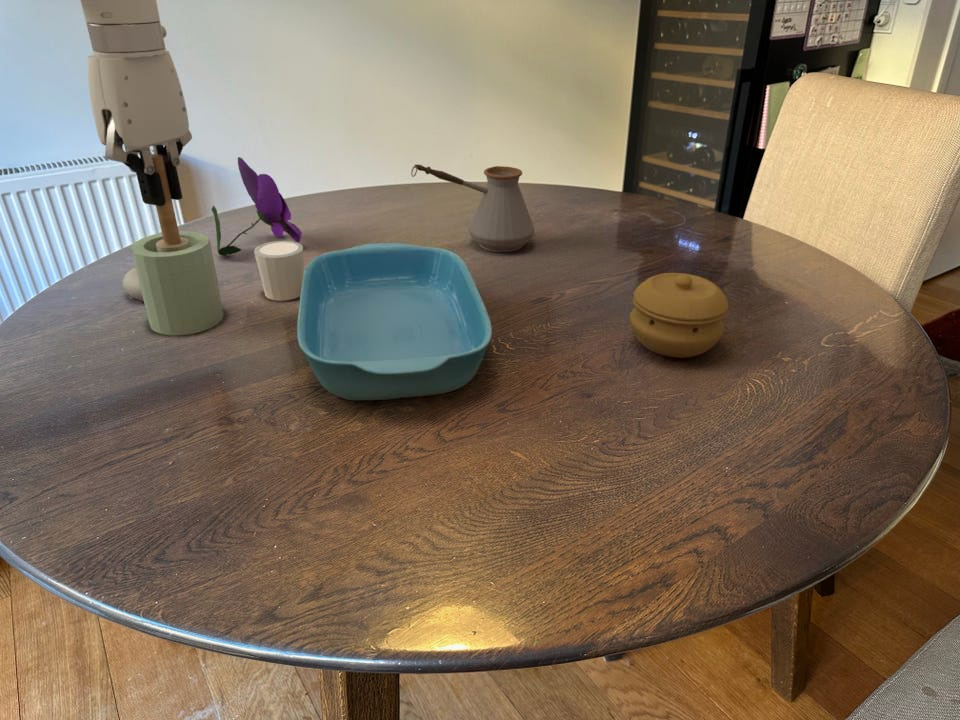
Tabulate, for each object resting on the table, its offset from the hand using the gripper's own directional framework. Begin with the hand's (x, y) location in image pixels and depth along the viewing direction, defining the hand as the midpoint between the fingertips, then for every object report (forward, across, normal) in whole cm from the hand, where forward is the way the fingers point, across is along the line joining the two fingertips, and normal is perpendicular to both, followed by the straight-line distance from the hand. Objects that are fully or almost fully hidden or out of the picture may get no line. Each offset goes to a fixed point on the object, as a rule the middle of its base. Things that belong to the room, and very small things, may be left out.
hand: (162, 200), depth 88 cm
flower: (+17, -25, -9) cm, 31 cm away
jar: (+17, 0, 0) cm, 17 cm away
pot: (+17, -20, +62) cm, 67 cm away
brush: (+11, 0, 0) cm, 11 cm away
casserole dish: (+17, -6, +29) cm, 34 cm away
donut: (+17, -5, -10) cm, 20 cm away
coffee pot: (+17, -42, +24) cm, 52 cm away
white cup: (+17, -13, +6) cm, 22 cm away
